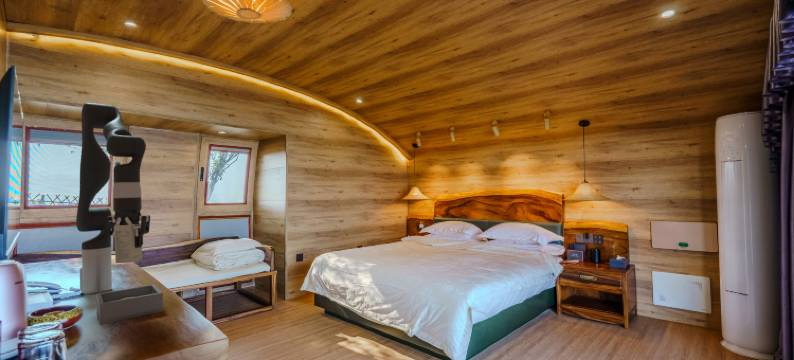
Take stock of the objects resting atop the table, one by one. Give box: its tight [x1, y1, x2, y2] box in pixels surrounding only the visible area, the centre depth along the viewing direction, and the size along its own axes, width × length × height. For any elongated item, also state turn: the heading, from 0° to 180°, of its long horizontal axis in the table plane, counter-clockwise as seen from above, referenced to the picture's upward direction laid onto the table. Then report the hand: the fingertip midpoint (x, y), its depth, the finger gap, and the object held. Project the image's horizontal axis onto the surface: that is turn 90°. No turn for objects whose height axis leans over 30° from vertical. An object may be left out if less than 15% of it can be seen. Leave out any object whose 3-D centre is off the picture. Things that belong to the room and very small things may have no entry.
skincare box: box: [113, 224, 143, 264], centre depth 122 cm, size 6×4×12 cm
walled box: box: [96, 283, 164, 326], centre depth 122 cm, size 16×16×6 cm
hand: (128, 247), depth 122 cm, fingers closed on skincare box, 6 cm apart
